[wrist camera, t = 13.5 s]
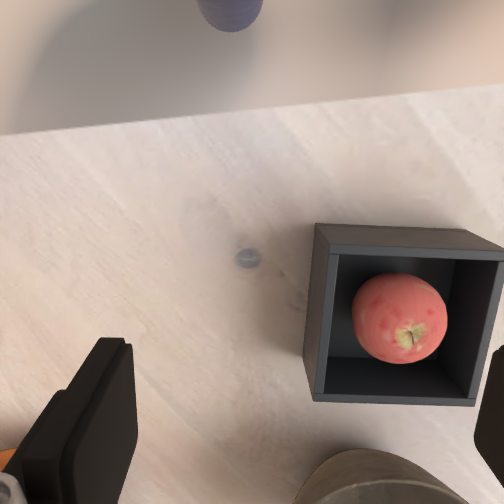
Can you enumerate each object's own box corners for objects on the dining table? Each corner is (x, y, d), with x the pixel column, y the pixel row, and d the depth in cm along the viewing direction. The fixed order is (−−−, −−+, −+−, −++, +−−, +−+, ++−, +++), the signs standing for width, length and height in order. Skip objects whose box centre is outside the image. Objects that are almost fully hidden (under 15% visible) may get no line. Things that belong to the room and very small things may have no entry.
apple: (415, 335, 40) (455, 386, 32) (338, 332, 40) (359, 381, 32) (429, 261, 38) (476, 296, 30) (347, 257, 37) (373, 291, 30)
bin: (314, 222, 37) (329, 243, 31) (465, 229, 38) (511, 251, 31) (302, 358, 41) (312, 401, 35) (439, 363, 42) (474, 407, 35)
